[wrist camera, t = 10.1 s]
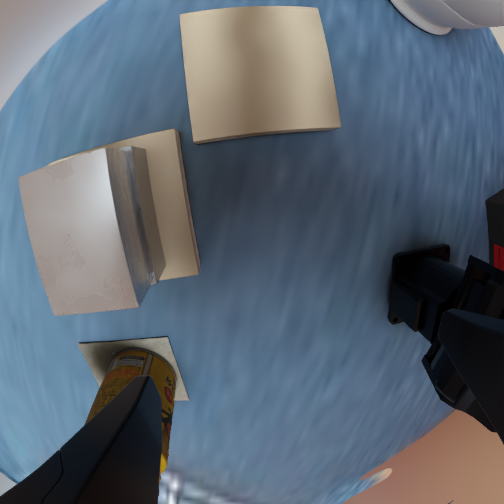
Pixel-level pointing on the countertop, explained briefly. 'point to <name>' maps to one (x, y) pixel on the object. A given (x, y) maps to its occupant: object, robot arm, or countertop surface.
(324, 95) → the stand
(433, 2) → the jar
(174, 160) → the stand
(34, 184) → the block
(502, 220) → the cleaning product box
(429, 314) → the robot arm
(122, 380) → the condiment
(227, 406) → the countertop surface
